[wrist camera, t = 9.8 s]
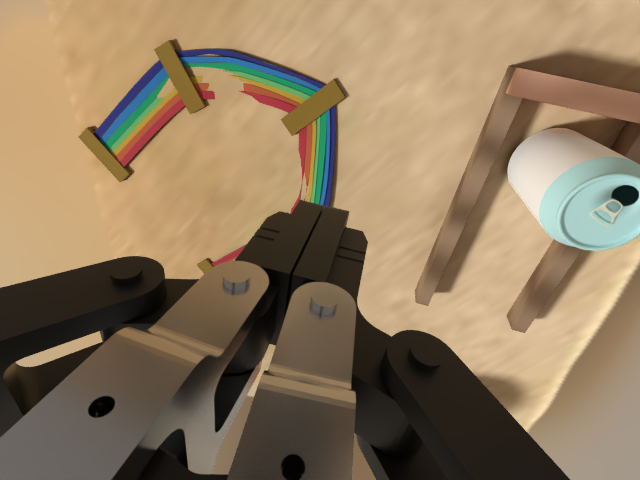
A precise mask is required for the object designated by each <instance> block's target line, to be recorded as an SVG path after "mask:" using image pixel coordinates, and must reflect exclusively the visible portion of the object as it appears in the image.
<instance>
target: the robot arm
mask: <svg viewBox="0 0 640 480" xmlns="http://www.w3.org/2000/svg"><path fill="white" fill-rule="evenodd" d="M348 216H349V211H346V210H341V209H337V208H333V207H329V206H325V208H324V205H320V204H316V203H311V202H307V201H303V200H300V201H299V202H298V204H297V206H296V207H295V209H294V210H293V212H292V213H291V214H288V213H284V212H278V213H276V214H274V215H272V216H270V217H268V218H267V219H266V220H265V221H264V223H263V224H262V225H261V226H260V229H258V230H257V232H256V233H255V235H254V236H253V237H252V238H251V240H250V241H249V242H248V244H247V245H246V246H245V248H244V249H243V250H242V252H241V253H240V254H239V255H238V257H237V258H236V259H235V261H228V262H224V263H220V264H218V265H215V266H214V267H212V268H211V269H209V270H208V271H207V272H206V273H205V274H204V275H203V276H202V277H201V278H200V279H165V273H164V269H163V266H162V265H161V264H160V263H159V262H157V261H155V260H153V259H150V258H147V257H140V256H129V257H122V258H117V259H113V260H110V261H106V262H102V263H98V264H94V265H90V266H86V267H82V268H78V269H74V270H70V271H66V272H62V273H58V274H54V275H50V276H47V277H42V278H38V279H34V280H31V281H27V282H22V283H18V284H14V285H10V286H7V287H2V288H0V480H352V466H353V448H354V433H356V435H357V441H358V445H359V447H360V449H361V451H362V453H363V455H364V457H365V459H366V461H367V463H368V464H369V466H370V468H371V470H372V472H373V474H374V476H375V478H376V480H570V479H569V478H568V477H567V476H566V475H565V474H564V472H563V471H562V470H561V469H560V468H559V467H558V466H557V465H556V464H555V463H554V461H553V460H552V459H551V458H550V457H549V456H548V455H547V454H546V453H545V452H544V450H543V449H542V448H540V446H539V445H538V444H537V443H536V442H535V441H534V440H533V438H532V437H531V436H530V435H529V434H528V433H527V432H526V431H525V430H524V429H523V427H522V426H521V425H520V424H519V423H518V422H517V421H516V420H515V419H514V418H513V416H512V415H511V414H510V413H509V412H508V411H507V410H506V409H505V408H504V407H503V406H502V404H501V403H500V402H499V401H498V400H497V399H496V398H495V397H494V396H493V395H492V393H491V392H490V391H489V390H488V389H487V388H486V387H485V386H484V385H483V384H482V383H481V381H480V380H479V379H478V378H477V377H476V376H475V375H474V374H473V373H472V372H471V370H470V369H469V368H468V367H467V366H466V365H465V364H464V363H463V362H462V361H461V360H460V358H459V357H458V356H457V355H456V354H455V353H454V352H453V351H452V350H451V349H450V348H449V347H448V346H447V345H446V344H445V343H444V342H442V341H441V340H440V339H438V338H436V337H435V336H432V335H430V334H428V333H425V332H421V331H416V330H405V331H401V332H399V333H396V334H395V335H393V336H392V337H391V336H389V335H388V334H386V333H384V332H382V331H380V330H379V329H377V328H375V327H374V326H372V325H371V324H370V323H369V322H368V321H367V320H366V319H365V318H364V317H363V316H362V314H361V313H360V311H359V308H358V305H357V296H358V291H359V286H360V280H361V275H362V270H363V265H364V259H365V254H366V249H367V244H368V241H367V239H366V237H365V235H364V233H363V231H359V230H355V229H351V228H347V227H346V225H347V221H348ZM98 331H100V334H101V337H102V341H103V342H101V343H98V344H96V345H93V346H90V347H88V348H85V349H82V350H79V351H77V352H74V353H71V354H69V355H66V356H64V357H61V358H58V359H55V360H53V361H50V362H47V363H45V364H42V365H39V366H35V367H22V366H19V365H17V364H16V363H15V362H16V361H18V360H20V359H22V358H24V357H27V356H30V355H33V354H35V353H38V352H41V351H44V350H47V349H50V348H52V347H55V346H58V345H61V344H64V343H66V342H69V341H72V340H75V339H78V338H81V337H84V336H86V335H89V334H92V333H95V332H98ZM269 344H273V345H276V347H275V351H274V354H273V357H272V360H271V363H270V366H269V369H268V371H264V372H263V374H262V376H261V379H260V381H259V384H258V387H257V390H256V393H255V396H254V399H253V402H252V405H251V408H250V411H249V414H248V417H247V420H246V423H245V426H244V429H243V432H242V435H241V438H240V441H239V444H238V447H237V450H236V453H235V456H234V459H233V462H232V465H231V468H230V471H229V474H228V475H214V474H211V472H212V469H213V467H214V464H215V460H216V456H217V453H218V450H219V447H220V445H221V442H222V440H223V438H224V436H225V434H226V432H227V431H228V429H229V427H230V425H231V423H232V421H233V420H234V418H235V416H236V414H237V412H238V410H239V408H240V406H241V405H242V403H243V401H244V399H245V397H246V395H247V394H248V392H249V390H250V388H251V386H252V384H253V382H254V381H255V379H256V377H257V375H258V373H259V371H260V369H261V364H262V359H263V357H264V355H265V353H266V350H267V348H268V346H269Z"/></svg>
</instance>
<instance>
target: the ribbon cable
mask: <svg viewBox="0 0 640 480" xmlns="http://www.w3.org/2000/svg"><path fill="white" fill-rule="evenodd" d="M154 50H155V52H156V54H157V56H158V57H159V59H160V60H159V61H158V62H157V63H155V64H154V65H153V66H152V67H151V68H150V69H149V70H148V71H147V72H146V73H145V74H144V75H143V77H142V78H141V79H140V80H139V81H138V82H137V83H136V84H135V85H134V86H133V88H132V89H131V90H130V91H129V92H128V93H127V95H126V96H125V97H124V98H123V99H122V100H121V102H120V103H119V104H118V105H117V106H116V107H115V109H114V110H113V111H112V112H111V113H110V115H109V116H108V117H107V118H106V119H105V121H104V122H103V123H102V124H101V125H100V127H99V128H98V129H97V130H96V131H94V130H93V129H92V128H91V127H88V128H86V129H85V130H84V131H83V133H82V134H81V135H80V136H79V138H80V139H81V140H82V142H83V143H84V144H85V145H86V146H87V147H88V148H89V149H90V150H91V151H92V152H93V153H94V155H95V156H96V157H97V158H98V159H99V160H100V161H101V162H102V163H103V164H104V165H105V167H106V168H107V169H108V170H109V171H110V172H111V173H112V174H113V175H114V176H115V177H116V179H117V180H118V181H119V182H121V181H123V180H124V179H126V178H127V177H128V176H129V175H130V174H131V171H130V170H129V169H128V168H127V167H126V164H127V163H128V162H129V161H130V160H131V159H132V158H133V157H134V156H135V155H136V153H137V152H138V151H139V150H140V149H141V148H142V147H143V146H144V145H145V144H146V143H147V142H148V141H149V139H150V138H151V137H152V136H153V135H154V134H155V133H156V132H157V131H158V130H159V129H160V128H161V127H162V126H163V125H164V124H165V123H166V122H167V121H168V120H169V119H170V118H171V117H173V116H174V115H175V114H176V113H177V112H178V111H179V110H180V109H182V108H183V107H184V106H186V108H187V109H188V111H189V113H190V114H192V113H194V112H196V111H198V110H200V109H202V108H204V107H206V104H205V102H204V101H203V99H215V94H214V92H213V91H206V90H207V89H208V86H209V84H208V83H204V84H201V81H202V76H194V77H189V76H188V74H187V72H186V70H185V68H184V67H212V68H219V69H225V70H230V71H227V72H231V73H234V74H237V75H240V76H242V77H240V76H234V75H229V76H232V77H234V78H238V79H240V80H241V81H245V82H248V83H250V84H253V85H250V84H246V83H243V84H244V91H240V92H243V93H246V94H248V95H250V96H252V97H253V98H255V99H256V100H257V101H259V102H260V103H263V104H266V105H270V106H273V107H276V108H279V109H281V110H284V111H286V112H289V114H288V115H286V116H285V117H284V118H282V119H281V121H282V122H283V124H284V125H285V126H286V128H287V129H288V131H289V132H290V134H291V135H292V136H293V135H294V134H295V133H297V132H298V131H299V153H300V158H301V167H302V181H303V173H304V172H305V177H306V184H307V187H308V183H309V194H308V198H307V202H311V203H316V204H320V205H324V208H325V206H329V203H330V196H331V189H332V179H333V167H334V152H335V127H336V111H335V104H337V103H338V102H339V101H341V100H342V99H343V98H345V95H344V94H343V92H342V91H341V89H340V87H339V86H338V84H337V82H336V81H335V79H333V80H332V81H330V82H329V83H328V84H327V85H323V84H321V83H319V82H316V81H314V80H312V79H309V78H307V77H304V76H302V75H299V74H297V73H294V72H291V71H289V70H286V69H283V68H280V67H278V66H275V65H272V64H269V63H266V62H263V61H261V60H258V59H255V58H252V57H249V56H246V55H243V54H239V53H236V52H233V51H230V50H224V49H198V50H187V51H180V52H175V50H176V48H175V46H174V44H173V42H172V40H168V41H167V42H165V43H164V44H162V45H161V46H159V47H158V48H156V49H154ZM204 54H215V55H220V56H223V57H207V56H198V57H194V56H197V55H204ZM169 77H170V79H171V81H172V82H173V84H174V86H175V88H174V89H173V90H172V91H171V92H170V93H169V94H168V95H167V96H166V97H165V98H158V99H156V98H157V95H158V94H159V92H160V91H161V89H162V88H163V86H164V85H165V83H166V82H167V80H168V78H169ZM254 85H255V86H254ZM135 97H136V98H135ZM155 99H156V100H155ZM301 190H302V186H301ZM306 192H307V189H306ZM300 196H301V191H300V194H299V198H298V199H297V201H296V203H295V205H294V207H293V208H292V209H291V213H292V212H293V210H294V209H295V207H296V206H297V204H298V202H299V201H300ZM304 201H305V199H304ZM291 213H290V214H291ZM246 245H247V244H246ZM246 245H245V246H246ZM245 246H243V247H241V248H239V249H237V250H235V251H234V252H232V253H230V254H228V255H226V256H224V257H223V258H221V259H219V260H217V261H215V262H213V263H212V264H211V262H210V261H209V260H208V258H207V259H205V260H203V261H202V262H200V263H199V264H197V266H198V267H199V268H200V269H201V270H202V272H203V273H204V274H205V273H206V272H207V271H208V270H209V269H211V268H212V267H214V266H215V265H218V264H220V263H224V262H228V261H233V260H234V259H236V258H237V257H238V255H239V254H240V253H241V252H242V250H243V249H244V248H245Z"/></svg>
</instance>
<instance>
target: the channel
mask: <svg viewBox="0 0 640 480" xmlns="http://www.w3.org/2000/svg"><path fill="white" fill-rule="evenodd" d="M523 98H525V99H530V100H535V101H539V102H544V103H548V104H553V105H557V106H562V107H566V108H571V109H575V110H580V111H585V112H589V113H594V114H598V115H603V116H607V117H612V118H616V119H621V120H626V121H628V122H627V124H626V125H625V127H624V129H623V130H622V132H621V133H620V135H619V137H618V138H617V140H616V141H615V143H614V145H613V146H612V148H611V150H613V151H615V152H617V153H619V154H621V155H623V156H625V157H626V158H628V159H630V160H632V161H634V162H636V163H638V164H640V93H635V92H631V91H626V90H621V89H617V88H612V87H607V86H602V85H598V84H593V83H588V82H584V81H579V80H574V79H569V78H565V77H560V76H555V75H551V74H546V73H541V72H536V71H532V70H527V69H522V68H517V67H512V66H509V67H508V69H507V71H506V74H505V76H504V79H503V81H502V83H501V86H500V88H499V91H498V93H497V95H496V98H495V100H494V103H493V105H492V107H491V110H490V112H489V115H488V117H487V119H486V122H485V124H484V127H483V129H482V131H481V134H480V136H479V139H478V141H477V143H476V146H475V148H474V150H473V153H472V155H471V158H470V160H469V162H468V165H467V167H466V170H465V172H464V174H463V177H462V179H461V182H460V184H459V186H458V189H457V191H456V194H455V196H454V198H453V201H452V203H451V206H450V208H449V210H448V213H447V215H446V218H445V220H444V222H443V225H442V227H441V229H440V232H439V234H438V237H437V239H436V241H435V244H434V246H433V249H432V251H431V253H430V256H429V258H428V261H427V263H426V265H425V268H424V270H423V273H422V275H421V277H420V280H419V282H418V285H417V287H416V289H415V298H416V303H419V304H423V305H426V306H428V305H429V303H430V300H431V298H432V296H433V294H434V292H435V289H436V287H437V285H438V283H439V281H440V278H441V276H442V274H443V272H444V270H445V267H446V265H447V263H448V261H449V259H450V257H451V254H452V252H453V250H454V248H455V246H456V243H457V241H458V239H459V237H460V235H461V232H462V230H463V228H464V226H465V224H466V221H467V219H468V217H469V215H470V213H471V211H472V208H473V206H474V204H475V202H476V200H477V197H478V195H479V193H480V191H481V189H482V186H483V184H484V182H485V180H486V178H487V175H488V173H489V171H490V169H491V167H492V165H493V162H494V160H495V158H496V156H497V154H498V151H499V149H500V147H501V145H502V143H503V140H504V138H505V136H506V134H507V132H508V129H509V127H510V125H511V123H512V121H513V119H514V116H515V114H516V112H517V110H518V108H519V105H520V103H521V101H522V99H523ZM581 250H582V249H580V248H577V247H573V246H568V245H565V244H562V243H560V242H558V241H556V240H553V242H552V244H551V245H550V247H549V248H548V250H547V252H546V253H545V255H544V256H543V258H542V260H541V261H540V263H539V264H538V266H537V268H536V269H535V271H534V272H533V274H532V276H531V277H530V279H529V280H528V282H527V284H526V285H525V287H524V288H523V290H522V292H521V293H520V295H519V296H518V298H517V300H516V301H515V303H514V304H513V306H512V308H511V309H510V311H509V312H508V314H507V318H508V321H509V323H510V326H511V329H512V330H516V331H519V332H523V333H525V332H526V330H527V329H528V328H529V326H530V325H531V323H532V322H533V320H534V319H535V317H536V316H537V314H538V313H539V312H540V310H541V309H542V307H543V306H544V304H545V303H546V301H547V300H548V298H549V297H550V296H551V294H552V293H553V291H554V290H555V288H556V287H557V285H558V284H559V282H560V281H561V280H562V278H563V277H564V275H565V274H566V272H567V271H568V269H569V268H570V266H571V265H572V264H573V262H574V261H575V259H576V258H577V256H578V255H579V253H580V252H581Z"/></svg>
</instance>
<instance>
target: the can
mask: <svg viewBox="0 0 640 480" xmlns="http://www.w3.org/2000/svg"><path fill="white" fill-rule="evenodd" d="M507 173H508V179H509V182H510V184H511V186H512V187H513V189H514V190H515V191H516V193H517V194H518V195H519V197H520V198H521V199H522V201H523V202H524V203H525V205H526V206H527V207H528V209H529V210H530V211H531V213H532V214H533V215H534V217H535V218H536V219H537V221H538V222H539V223H540V225H541V226H542V227H543V229H544V230H545V231H546V233H547V234H548V235H549V236H550V237H552V238H553V239H554V240H556V241H558V242H560V243H562V244H565V245H568V246H573V247H577V248H580V249H584V250H591V251H599V250H607V249H612V248H615V247H618V246H621V245H624V244H626V243H628V242H630V241H631V240H633V239H635V238H636V237H638V236H639V235H640V164H638V163H636V162H634V161H632V160H630V159H628V158H626V157H625V156H623V155H621V154H619V153H617V152H615V151H613V150H611V149H609V148H607V147H605V146H603V145H601V144H599V143H597V142H595V141H593V140H591V139H590V138H588V137H586V136H584V135H582V134H580V133H578V132H576V131H574V130H571V129H566V128H551V129H546V130H543V131H540V132H538V133H535V134H533V135H532V136H530V137H528V138H527V139H526V140H524V141H523V142H522V143H521V144H520V145H519V146H518V147H517V148H516V150H515V151H514V153H513V154H512V156H511V158H510V161H509V164H508V172H507Z"/></svg>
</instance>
